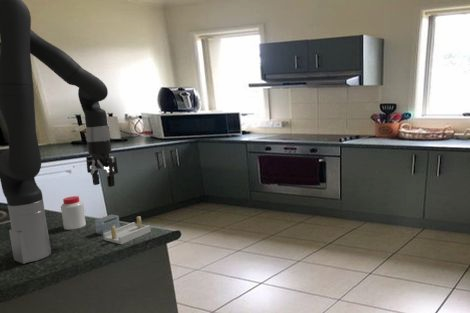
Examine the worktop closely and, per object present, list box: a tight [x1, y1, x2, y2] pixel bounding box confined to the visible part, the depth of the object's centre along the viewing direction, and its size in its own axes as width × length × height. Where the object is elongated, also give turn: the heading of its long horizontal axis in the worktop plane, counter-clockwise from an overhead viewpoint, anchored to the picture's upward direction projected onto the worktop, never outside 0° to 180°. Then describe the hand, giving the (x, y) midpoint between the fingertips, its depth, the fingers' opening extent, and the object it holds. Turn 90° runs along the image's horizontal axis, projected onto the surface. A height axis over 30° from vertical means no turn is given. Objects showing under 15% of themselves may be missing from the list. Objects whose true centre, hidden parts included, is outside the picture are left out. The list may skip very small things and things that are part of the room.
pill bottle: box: [60, 195, 87, 231], centre depth 139 cm, size 8×8×11 cm
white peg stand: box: [102, 215, 152, 245], centre depth 124 cm, size 12×9×5 cm
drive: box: [94, 213, 121, 236], centre depth 130 cm, size 7×4×5 cm, turn 145°
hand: (103, 185), depth 129 cm, fingers open, 8 cm apart
